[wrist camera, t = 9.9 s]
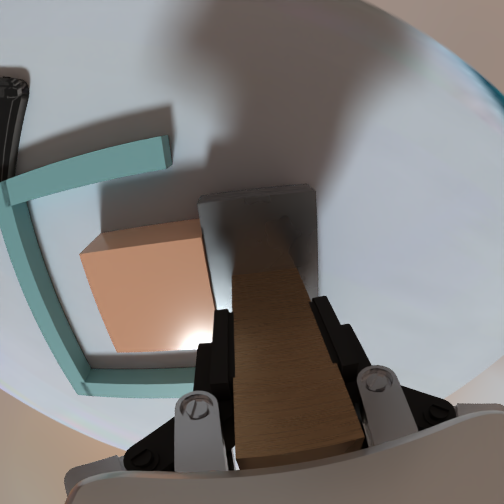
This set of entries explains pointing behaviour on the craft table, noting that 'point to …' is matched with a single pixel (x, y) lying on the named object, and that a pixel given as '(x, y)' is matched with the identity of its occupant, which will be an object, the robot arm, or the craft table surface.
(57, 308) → the frame
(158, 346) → the tile
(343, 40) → the craft table surface
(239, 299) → the pusher
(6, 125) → the phone
